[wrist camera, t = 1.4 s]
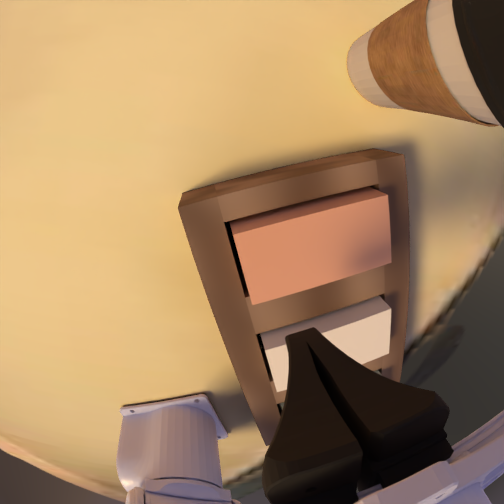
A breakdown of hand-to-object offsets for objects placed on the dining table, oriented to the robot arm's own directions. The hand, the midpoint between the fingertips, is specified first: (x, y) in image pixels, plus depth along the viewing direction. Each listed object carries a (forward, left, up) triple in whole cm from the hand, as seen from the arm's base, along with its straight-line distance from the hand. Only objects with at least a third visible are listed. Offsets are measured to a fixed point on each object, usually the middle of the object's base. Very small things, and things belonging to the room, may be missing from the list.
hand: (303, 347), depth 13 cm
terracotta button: (+3, +2, -9) cm, 10 cm away
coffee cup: (+12, +12, -11) cm, 20 cm away
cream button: (+3, -6, -9) cm, 11 cm away
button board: (+3, -6, -10) cm, 12 cm away
